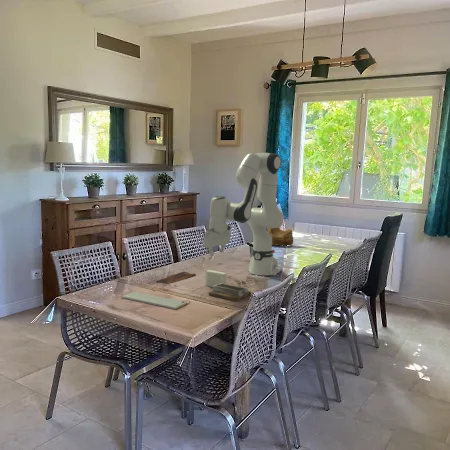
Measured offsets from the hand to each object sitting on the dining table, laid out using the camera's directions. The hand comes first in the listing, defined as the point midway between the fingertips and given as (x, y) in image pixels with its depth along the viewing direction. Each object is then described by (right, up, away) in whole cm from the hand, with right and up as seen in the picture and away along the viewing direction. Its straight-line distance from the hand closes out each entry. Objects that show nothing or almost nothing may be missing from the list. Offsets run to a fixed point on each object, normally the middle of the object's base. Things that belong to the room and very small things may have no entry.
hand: (216, 253), depth 232 cm
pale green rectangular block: (-1, -18, +3) cm, 18 cm away
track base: (+7, -20, -12) cm, 24 cm away
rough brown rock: (+46, -2, +126) cm, 134 cm away
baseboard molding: (-28, -21, -23) cm, 42 cm away
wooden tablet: (-23, -16, +17) cm, 33 cm away
